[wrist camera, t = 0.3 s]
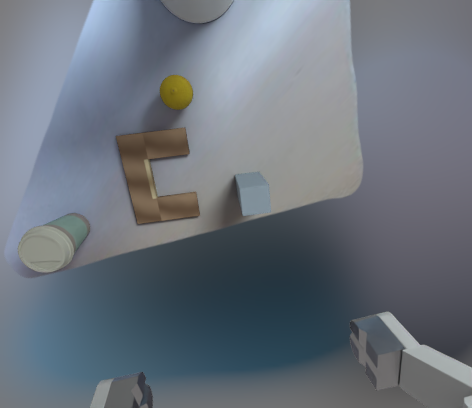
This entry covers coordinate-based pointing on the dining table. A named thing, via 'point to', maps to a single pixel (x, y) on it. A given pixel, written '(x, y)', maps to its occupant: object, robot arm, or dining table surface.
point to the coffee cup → (53, 243)
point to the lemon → (176, 92)
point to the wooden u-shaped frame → (141, 177)
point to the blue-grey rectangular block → (253, 193)
